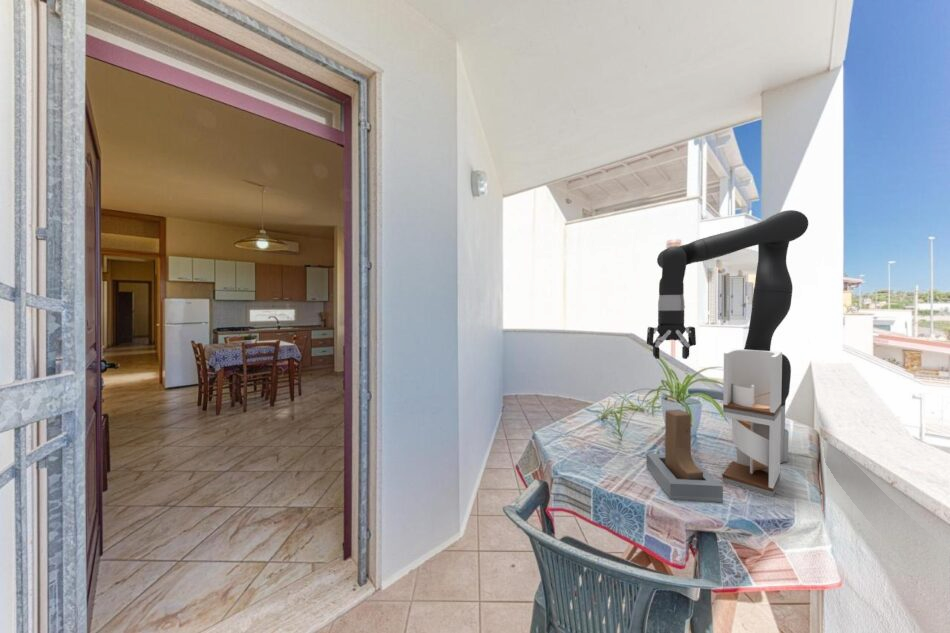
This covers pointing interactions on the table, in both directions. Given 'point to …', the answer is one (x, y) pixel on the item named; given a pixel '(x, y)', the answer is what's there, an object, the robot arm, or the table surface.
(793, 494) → the table surface
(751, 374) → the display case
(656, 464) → the grey tray
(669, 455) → the wooden block
